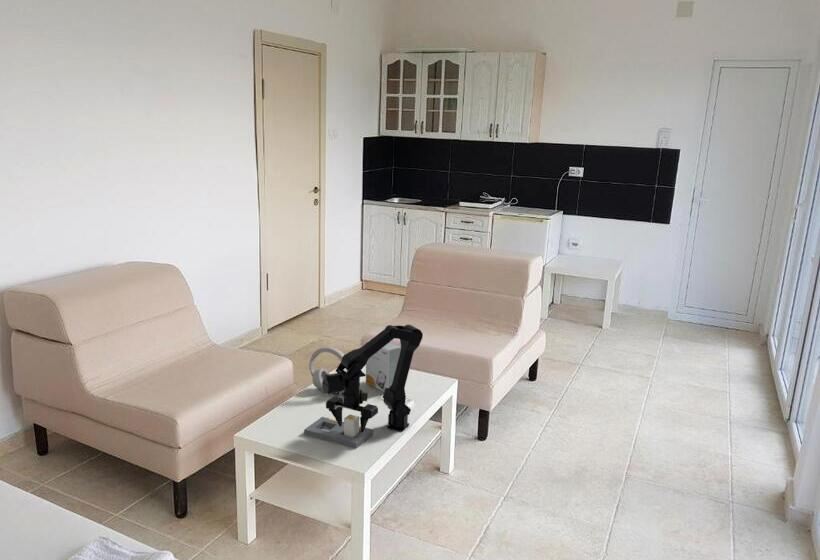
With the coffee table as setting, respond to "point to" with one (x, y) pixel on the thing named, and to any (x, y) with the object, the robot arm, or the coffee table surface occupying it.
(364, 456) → the coffee table surface
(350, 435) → the plug
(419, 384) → the coffee table surface
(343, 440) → the panel
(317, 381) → the headphones
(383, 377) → the hard drive box
